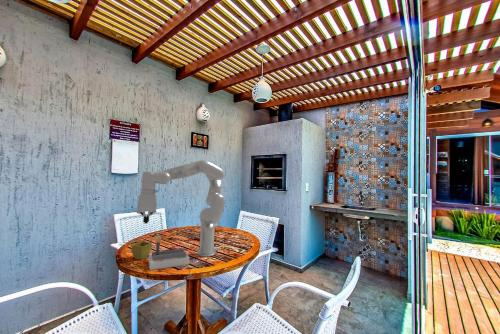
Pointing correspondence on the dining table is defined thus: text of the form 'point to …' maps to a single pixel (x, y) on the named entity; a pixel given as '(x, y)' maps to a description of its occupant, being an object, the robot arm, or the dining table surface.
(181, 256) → the breaker block
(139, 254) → the flower pot
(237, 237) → the dining table surface
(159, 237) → the breaker lever
